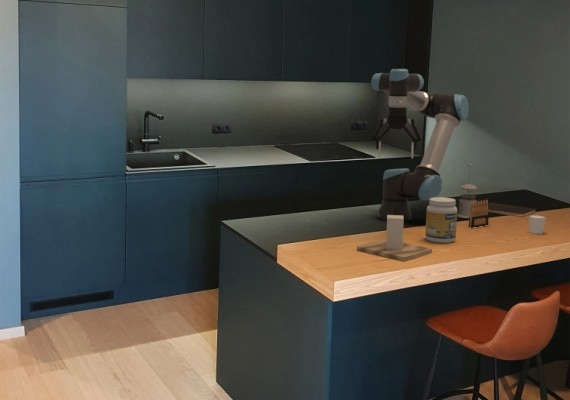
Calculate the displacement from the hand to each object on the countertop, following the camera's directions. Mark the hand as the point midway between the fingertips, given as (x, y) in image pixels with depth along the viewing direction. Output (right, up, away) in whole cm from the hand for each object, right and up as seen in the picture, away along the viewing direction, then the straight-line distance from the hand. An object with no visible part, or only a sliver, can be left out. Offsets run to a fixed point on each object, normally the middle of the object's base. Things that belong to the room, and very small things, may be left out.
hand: (395, 157), depth 300 cm
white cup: (+61, -32, +6) cm, 69 cm away
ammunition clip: (+39, -30, +16) cm, 52 cm away
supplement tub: (+17, -34, -9) cm, 39 cm away
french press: (+40, -25, +40) cm, 62 cm away
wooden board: (-5, -37, -28) cm, 47 cm away
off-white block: (-5, -36, -29) cm, 46 cm away
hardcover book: (+62, -24, +51) cm, 84 cm away
